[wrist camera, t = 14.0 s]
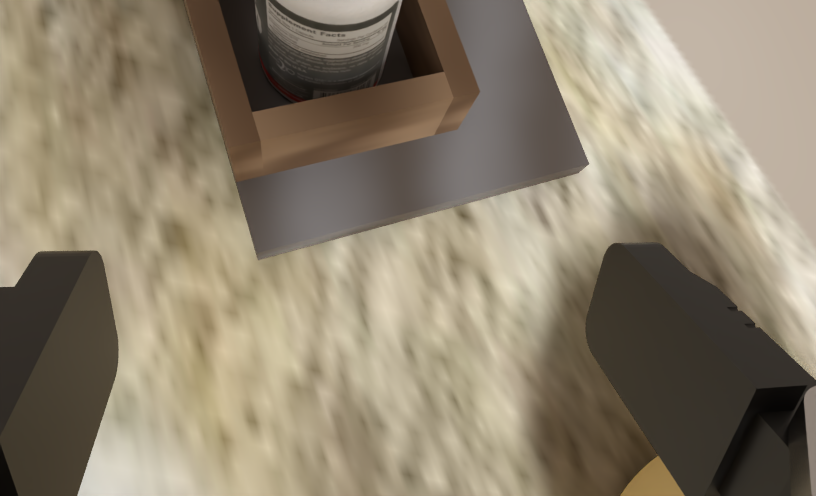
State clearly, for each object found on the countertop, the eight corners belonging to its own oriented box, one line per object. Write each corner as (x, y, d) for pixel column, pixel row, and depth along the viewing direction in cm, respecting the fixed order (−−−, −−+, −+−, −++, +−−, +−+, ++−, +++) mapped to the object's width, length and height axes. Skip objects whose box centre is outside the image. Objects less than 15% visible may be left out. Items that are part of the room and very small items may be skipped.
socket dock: (258, 259, 22) (251, 228, 19) (164, -65, 25) (142, -151, 21) (577, 173, 26) (628, 131, 22) (466, -106, 28) (493, -186, 25)
